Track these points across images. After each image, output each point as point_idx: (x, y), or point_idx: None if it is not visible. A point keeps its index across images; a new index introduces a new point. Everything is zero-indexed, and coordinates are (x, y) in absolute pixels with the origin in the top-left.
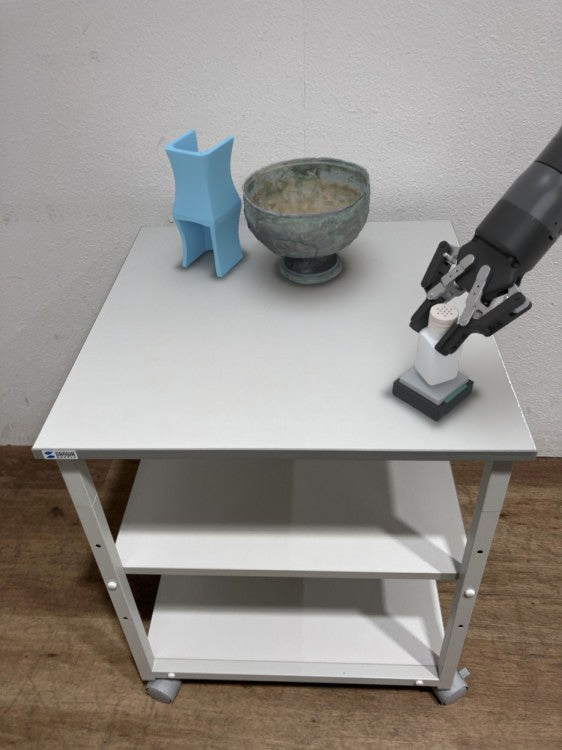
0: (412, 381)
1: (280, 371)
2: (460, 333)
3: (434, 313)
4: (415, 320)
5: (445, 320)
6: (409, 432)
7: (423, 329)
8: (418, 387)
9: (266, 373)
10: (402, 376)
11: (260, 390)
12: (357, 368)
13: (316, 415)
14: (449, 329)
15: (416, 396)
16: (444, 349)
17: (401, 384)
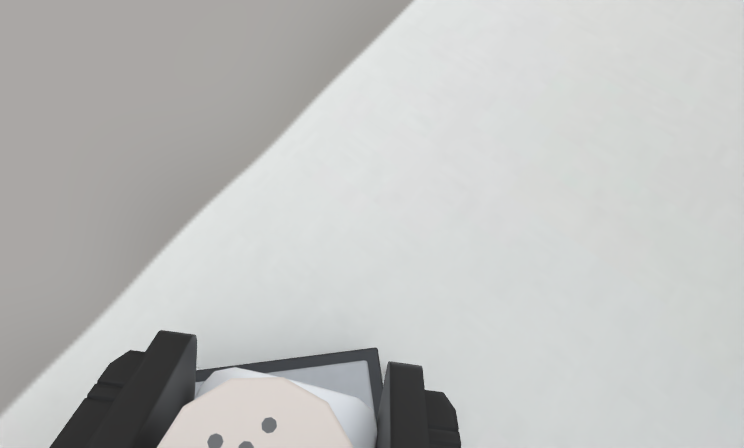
0: (319, 381)
1: (639, 162)
2: (63, 437)
3: (283, 401)
4: (401, 382)
5: (181, 409)
6: (213, 282)
7: (363, 430)
8: (281, 376)
9: (649, 130)
10: (363, 371)
11: (595, 83)
12: (535, 349)
13: (432, 132)
14: (144, 410)
15: (272, 361)
16: (136, 353)
17: (349, 361)
